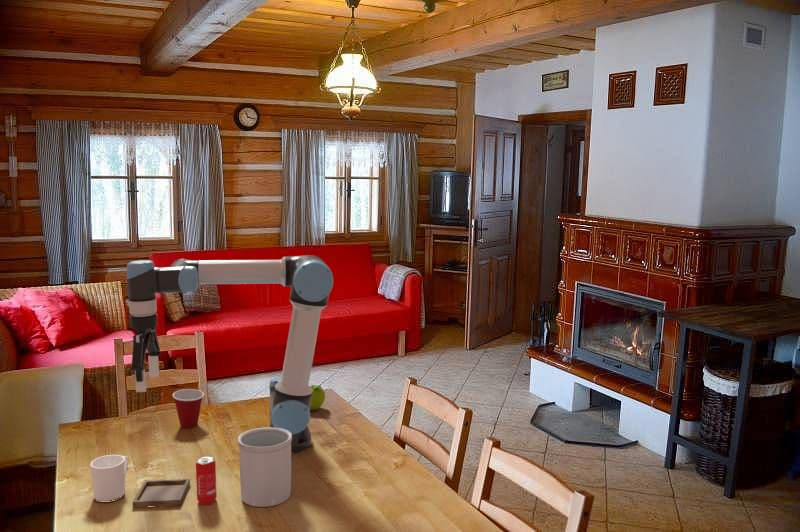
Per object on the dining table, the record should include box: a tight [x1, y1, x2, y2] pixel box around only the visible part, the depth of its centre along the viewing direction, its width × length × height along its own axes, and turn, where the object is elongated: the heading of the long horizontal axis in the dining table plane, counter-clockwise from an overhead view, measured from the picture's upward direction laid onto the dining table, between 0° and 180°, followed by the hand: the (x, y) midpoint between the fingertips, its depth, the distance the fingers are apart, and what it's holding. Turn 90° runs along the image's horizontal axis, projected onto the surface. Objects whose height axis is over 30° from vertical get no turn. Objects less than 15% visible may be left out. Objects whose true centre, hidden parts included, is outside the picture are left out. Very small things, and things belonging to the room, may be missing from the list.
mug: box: [90, 454, 130, 502], centre depth 191 cm, size 11×9×10 cm
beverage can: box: [195, 456, 218, 506], centre depth 188 cm, size 5×5×12 cm
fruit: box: [309, 384, 326, 411], centre depth 259 cm, size 9×9×10 cm
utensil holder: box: [237, 426, 292, 508], centre depth 191 cm, size 15×15×18 cm
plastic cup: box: [172, 388, 205, 429], centre depth 241 cm, size 11×11×12 cm
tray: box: [131, 478, 191, 508], centre depth 191 cm, size 13×13×2 cm
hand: (148, 384), depth 201 cm, fingers open, 13 cm apart
